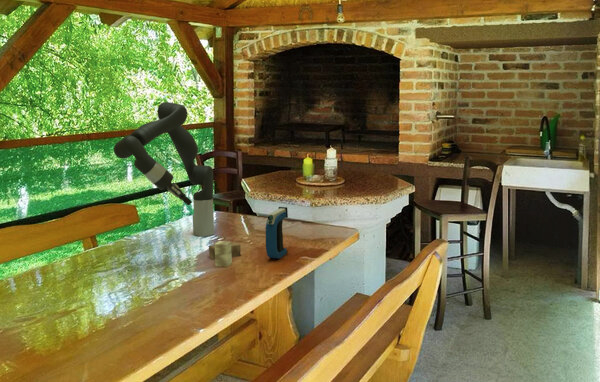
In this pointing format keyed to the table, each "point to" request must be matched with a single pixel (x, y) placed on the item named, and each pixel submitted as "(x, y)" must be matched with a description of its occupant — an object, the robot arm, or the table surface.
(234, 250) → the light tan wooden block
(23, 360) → the table surface
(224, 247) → the beech block
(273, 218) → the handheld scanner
